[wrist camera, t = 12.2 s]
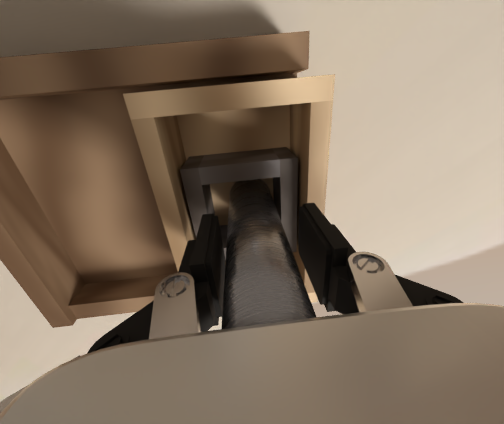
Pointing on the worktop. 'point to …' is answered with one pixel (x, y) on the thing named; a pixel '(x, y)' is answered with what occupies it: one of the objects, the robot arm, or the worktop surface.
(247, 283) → the handle peg
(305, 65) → the bay
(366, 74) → the worktop surface
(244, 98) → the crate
